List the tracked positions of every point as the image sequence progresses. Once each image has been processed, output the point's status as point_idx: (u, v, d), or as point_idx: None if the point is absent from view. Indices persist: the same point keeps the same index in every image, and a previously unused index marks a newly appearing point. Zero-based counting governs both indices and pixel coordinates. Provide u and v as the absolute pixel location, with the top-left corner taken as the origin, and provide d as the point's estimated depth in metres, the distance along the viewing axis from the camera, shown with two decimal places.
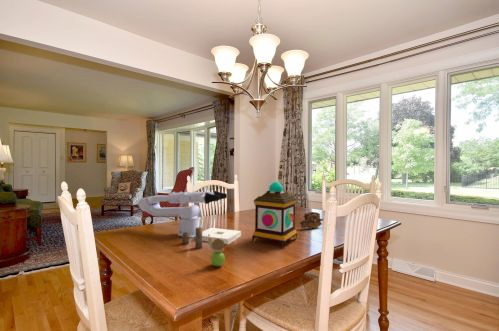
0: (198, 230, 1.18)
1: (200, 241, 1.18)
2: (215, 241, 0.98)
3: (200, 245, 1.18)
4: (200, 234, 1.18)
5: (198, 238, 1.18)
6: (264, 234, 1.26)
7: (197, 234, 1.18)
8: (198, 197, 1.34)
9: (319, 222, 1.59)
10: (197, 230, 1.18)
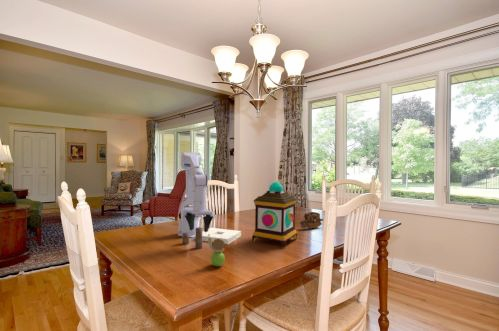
0: (198, 230, 1.18)
1: (200, 241, 1.18)
2: (215, 241, 0.98)
3: (200, 245, 1.18)
4: (200, 234, 1.18)
5: (198, 238, 1.18)
6: (264, 234, 1.26)
7: (197, 234, 1.18)
8: None
9: (319, 222, 1.59)
10: (197, 230, 1.18)
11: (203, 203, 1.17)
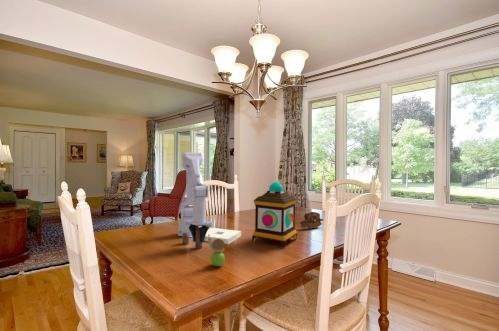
0: (198, 230, 1.18)
1: None
2: (215, 241, 0.98)
3: (200, 245, 1.18)
4: None
5: (198, 238, 1.18)
6: (264, 234, 1.26)
7: (197, 234, 1.18)
8: None
9: (319, 222, 1.59)
10: (197, 230, 1.18)
11: (203, 215, 1.17)
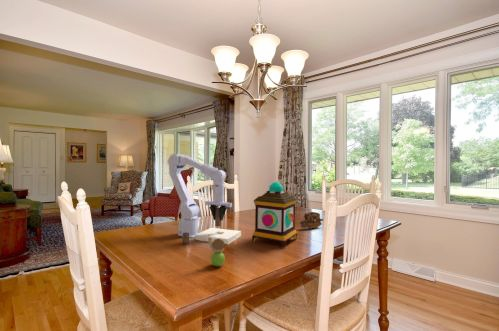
0: (218, 210, 1.33)
1: (219, 219, 1.33)
2: (215, 241, 0.98)
3: (220, 223, 1.34)
4: (219, 213, 1.33)
5: (218, 216, 1.33)
6: (264, 234, 1.26)
7: (217, 213, 1.33)
8: None
9: (319, 222, 1.59)
10: (217, 210, 1.33)
11: (222, 196, 1.33)
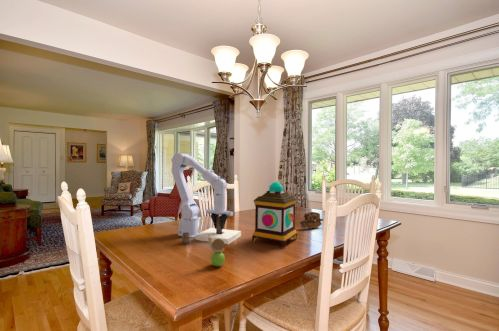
0: (219, 218, 1.34)
1: (220, 228, 1.35)
2: (215, 241, 0.98)
3: (221, 232, 1.35)
4: (220, 222, 1.34)
5: (219, 225, 1.34)
6: (264, 234, 1.26)
7: (218, 222, 1.34)
8: None
9: (319, 222, 1.59)
10: (218, 218, 1.34)
11: (223, 204, 1.34)
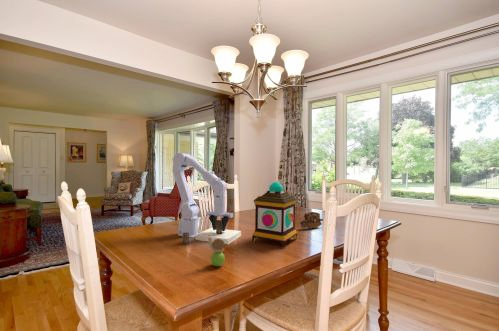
0: (219, 222, 1.34)
1: (220, 232, 1.35)
2: (215, 241, 0.98)
3: None
4: (220, 225, 1.34)
5: (219, 229, 1.34)
6: (264, 234, 1.26)
7: (218, 225, 1.34)
8: None
9: (319, 222, 1.59)
10: (218, 222, 1.34)
11: (223, 206, 1.34)
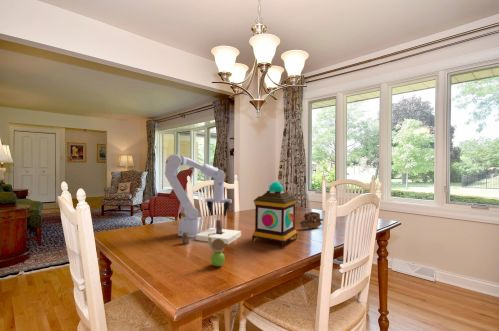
0: (219, 222, 1.34)
1: (220, 232, 1.35)
2: (215, 241, 0.98)
3: None
4: (220, 225, 1.34)
5: (219, 229, 1.34)
6: (264, 234, 1.26)
7: (218, 225, 1.34)
8: None
9: (319, 222, 1.59)
10: (218, 222, 1.34)
11: (222, 193, 1.44)
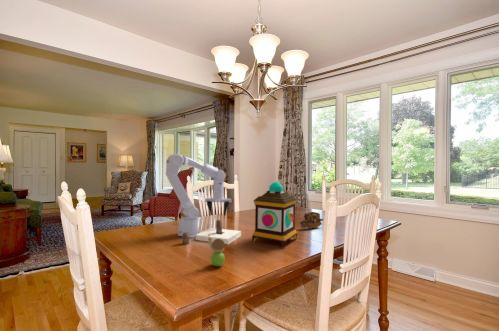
0: (219, 222, 1.34)
1: (220, 232, 1.35)
2: (215, 241, 0.98)
3: None
4: (220, 225, 1.35)
5: (219, 229, 1.34)
6: (264, 234, 1.26)
7: (218, 225, 1.34)
8: (213, 192, 1.47)
9: (319, 222, 1.59)
10: (218, 222, 1.34)
11: (222, 193, 1.46)
